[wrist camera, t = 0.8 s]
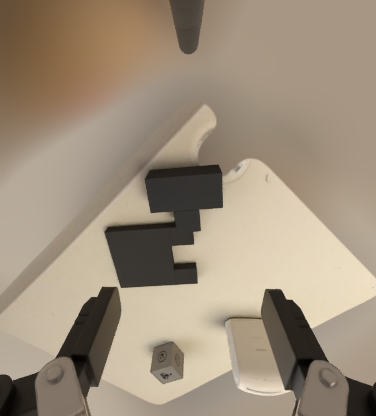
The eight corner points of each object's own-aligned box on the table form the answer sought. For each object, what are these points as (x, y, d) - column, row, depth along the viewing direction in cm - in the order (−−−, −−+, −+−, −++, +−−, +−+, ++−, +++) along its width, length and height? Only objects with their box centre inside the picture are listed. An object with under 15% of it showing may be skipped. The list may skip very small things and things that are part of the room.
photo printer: (276, 317, 46) (303, 387, 35) (271, 331, 48) (296, 401, 37) (226, 315, 46) (237, 384, 35) (223, 329, 48) (233, 399, 37)
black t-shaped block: (158, 221, 36) (154, 234, 33) (149, 170, 33) (144, 179, 29) (220, 216, 36) (223, 229, 32) (218, 164, 32) (222, 172, 28)
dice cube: (153, 348, 51) (150, 372, 46) (172, 341, 50) (171, 365, 45) (165, 359, 53) (162, 384, 48) (183, 353, 52) (183, 378, 47)
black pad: (107, 227, 37) (104, 232, 36) (192, 221, 36) (192, 226, 35) (123, 281, 42) (120, 288, 41) (197, 277, 41) (197, 283, 40)
